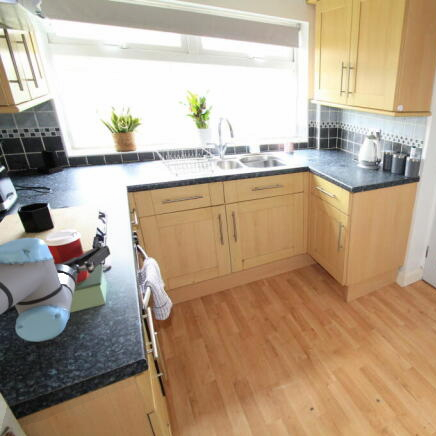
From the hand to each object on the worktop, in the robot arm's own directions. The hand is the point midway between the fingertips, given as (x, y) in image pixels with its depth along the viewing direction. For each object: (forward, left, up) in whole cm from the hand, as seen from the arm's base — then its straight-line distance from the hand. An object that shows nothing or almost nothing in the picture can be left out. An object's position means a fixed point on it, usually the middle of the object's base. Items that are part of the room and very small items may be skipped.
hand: (67, 245), depth 89 cm
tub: (0, -3, -17) cm, 17 cm away
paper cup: (0, -3, -9) cm, 10 cm away
